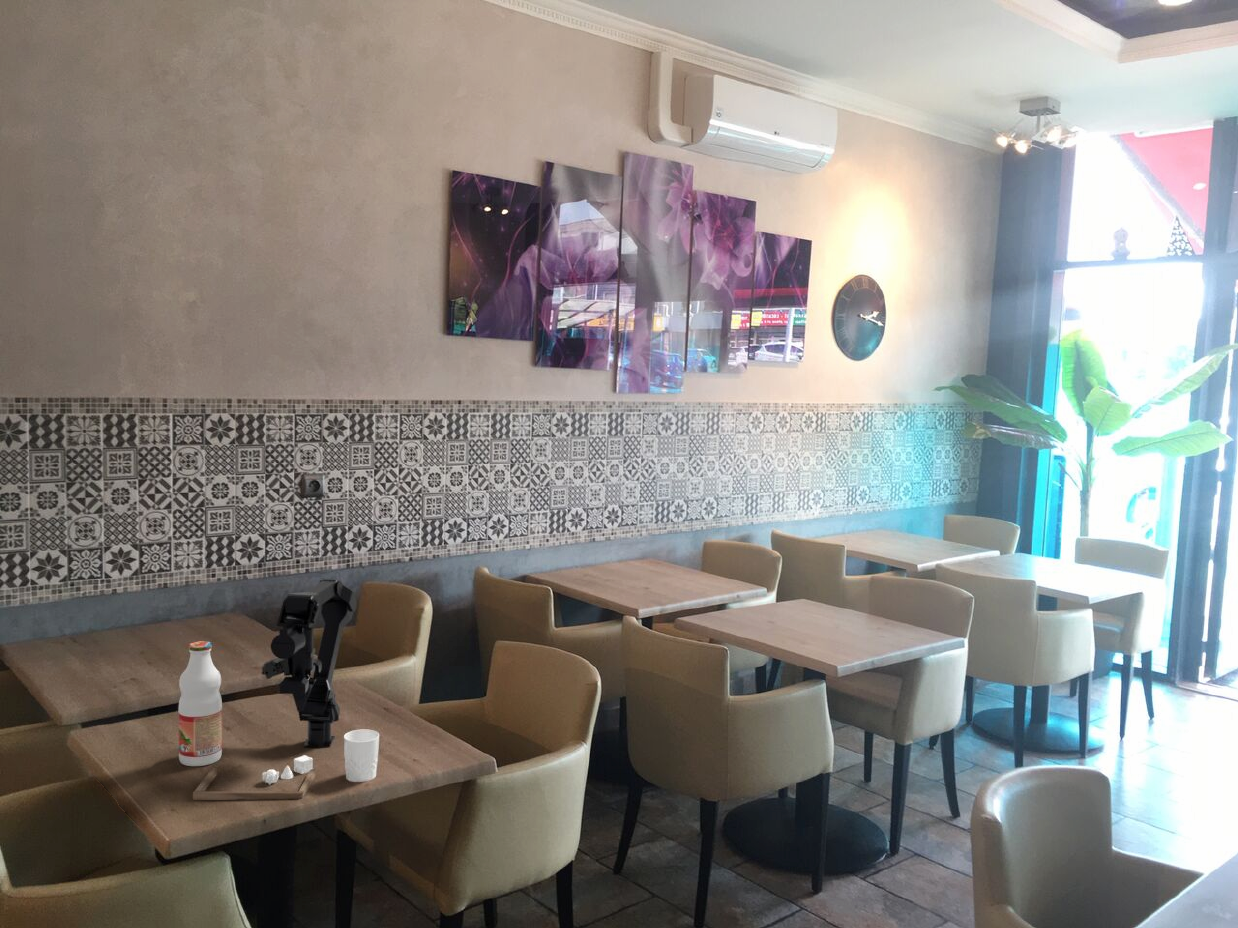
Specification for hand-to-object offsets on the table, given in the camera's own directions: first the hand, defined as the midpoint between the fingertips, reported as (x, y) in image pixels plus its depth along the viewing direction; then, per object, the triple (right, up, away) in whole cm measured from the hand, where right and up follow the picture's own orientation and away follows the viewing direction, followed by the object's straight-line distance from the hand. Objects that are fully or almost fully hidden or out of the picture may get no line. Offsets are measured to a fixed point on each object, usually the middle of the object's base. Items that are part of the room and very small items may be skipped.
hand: (300, 710), depth 238 cm
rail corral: (-5, -13, -14) cm, 20 cm away
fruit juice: (-23, -11, -1) cm, 26 cm away
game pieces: (0, -13, -8) cm, 16 cm away
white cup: (+16, -14, -7) cm, 23 cm away
